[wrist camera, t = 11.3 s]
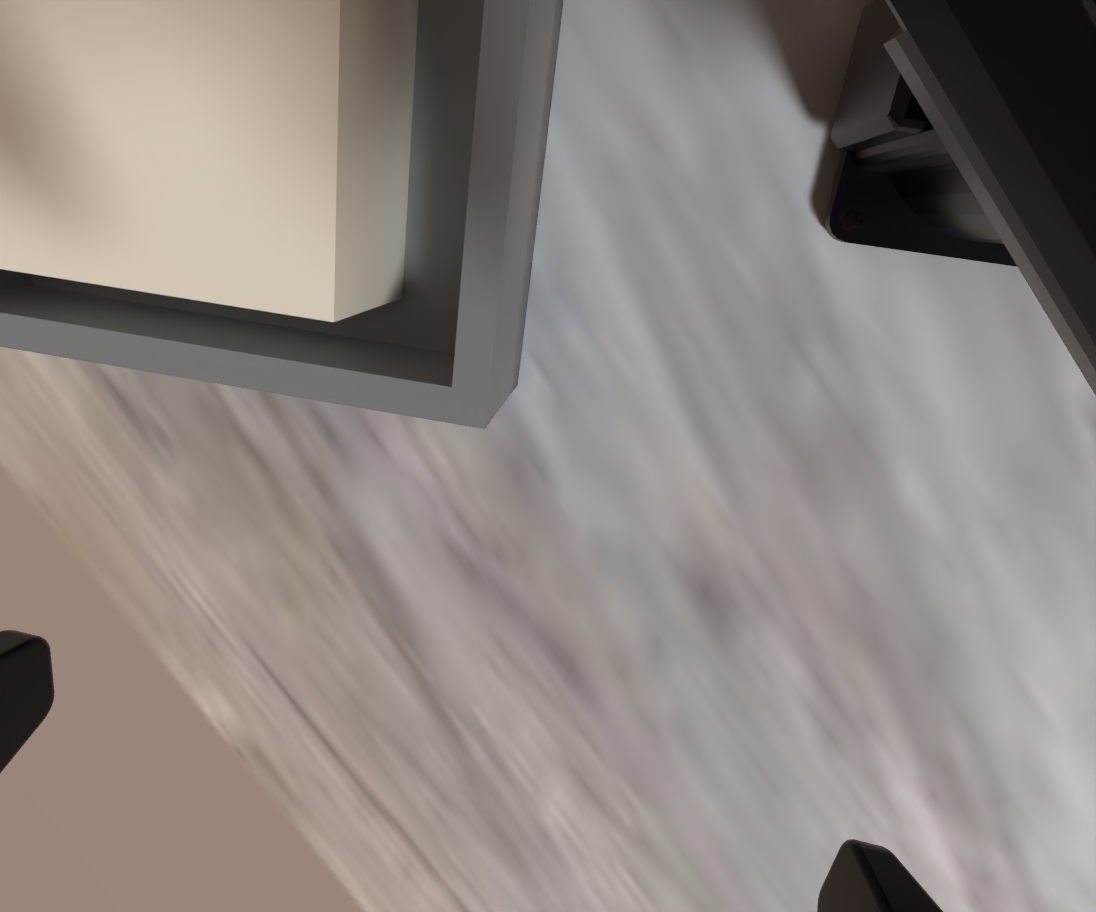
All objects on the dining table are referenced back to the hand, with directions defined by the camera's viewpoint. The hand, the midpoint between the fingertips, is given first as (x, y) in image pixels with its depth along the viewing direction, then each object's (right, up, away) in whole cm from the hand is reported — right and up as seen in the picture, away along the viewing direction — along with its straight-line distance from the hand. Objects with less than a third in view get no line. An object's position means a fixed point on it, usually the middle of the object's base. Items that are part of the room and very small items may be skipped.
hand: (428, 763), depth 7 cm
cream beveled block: (-6, +11, +9) cm, 15 cm away
